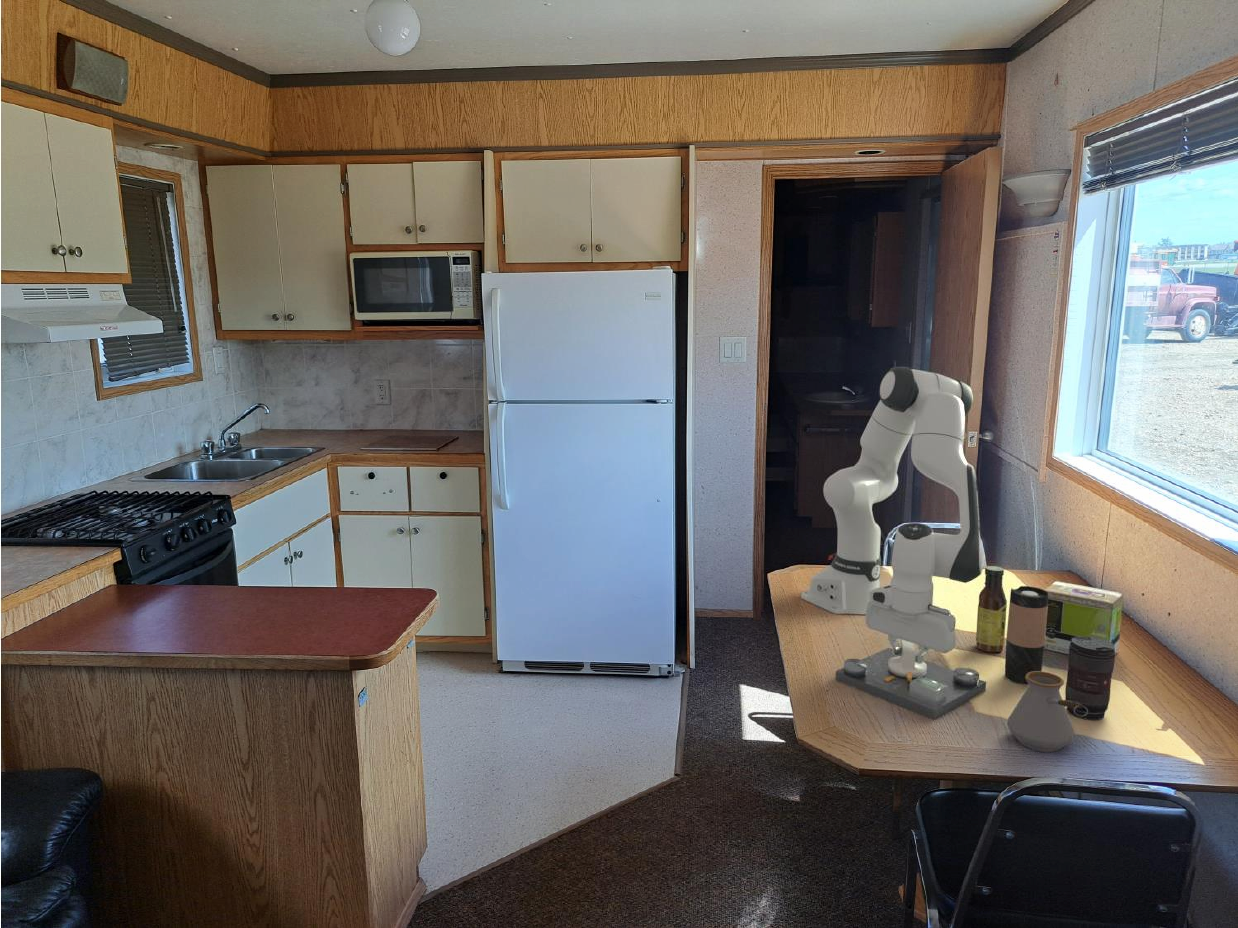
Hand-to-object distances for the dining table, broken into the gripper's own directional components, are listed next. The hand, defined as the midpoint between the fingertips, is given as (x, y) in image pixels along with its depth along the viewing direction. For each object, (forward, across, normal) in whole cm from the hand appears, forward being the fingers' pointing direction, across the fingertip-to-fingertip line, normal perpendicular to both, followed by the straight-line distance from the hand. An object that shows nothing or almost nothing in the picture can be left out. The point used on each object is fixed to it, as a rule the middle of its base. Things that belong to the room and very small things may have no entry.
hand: (907, 658), depth 191 cm
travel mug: (+5, -16, -19) cm, 26 cm away
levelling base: (+5, -2, +2) cm, 6 cm away
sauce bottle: (+5, -4, -30) cm, 30 cm away
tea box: (+5, -18, -44) cm, 48 cm away
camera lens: (+5, -32, -13) cm, 35 cm away
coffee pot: (+5, -35, +9) cm, 36 cm away
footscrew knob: (+2, -1, +2) cm, 3 cm away
